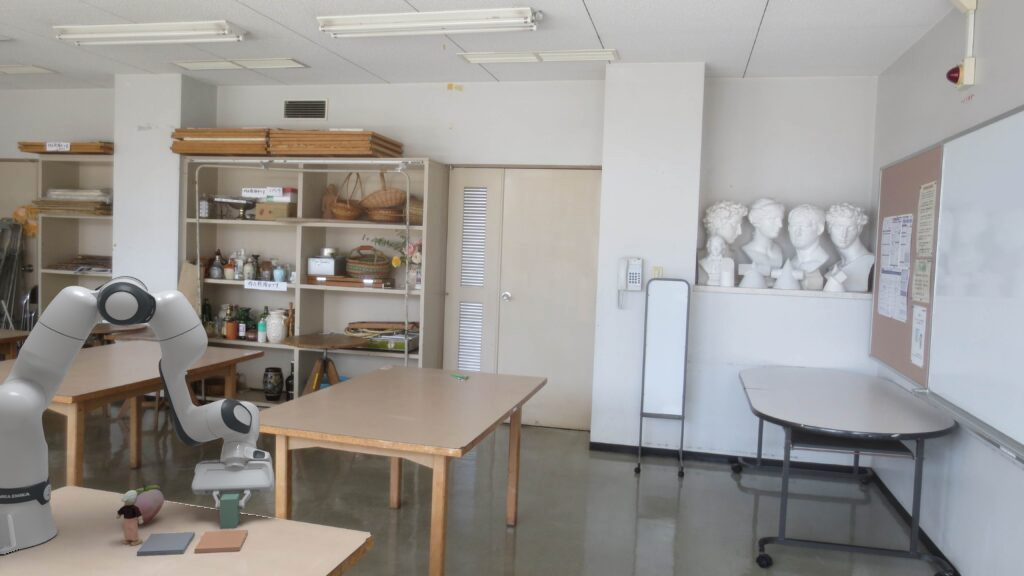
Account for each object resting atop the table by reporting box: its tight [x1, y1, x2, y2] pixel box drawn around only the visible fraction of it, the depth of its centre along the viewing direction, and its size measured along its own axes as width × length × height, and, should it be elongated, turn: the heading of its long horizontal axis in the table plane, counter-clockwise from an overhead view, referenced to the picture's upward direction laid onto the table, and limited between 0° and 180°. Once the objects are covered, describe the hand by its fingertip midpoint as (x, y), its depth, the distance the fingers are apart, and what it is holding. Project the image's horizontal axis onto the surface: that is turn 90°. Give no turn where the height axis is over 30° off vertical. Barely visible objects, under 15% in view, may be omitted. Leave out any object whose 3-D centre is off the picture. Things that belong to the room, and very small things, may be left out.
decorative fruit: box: [123, 484, 165, 524], centre depth 182 cm, size 9×8×10 cm
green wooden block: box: [219, 494, 241, 530], centre depth 182 cm, size 4×4×8 cm
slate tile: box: [136, 531, 196, 557], centre depth 170 cm, size 10×10×1 cm
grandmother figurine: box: [115, 489, 144, 546], centre depth 171 cm, size 8×4×13 cm, turn 84°
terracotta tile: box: [194, 529, 249, 554], centre depth 172 cm, size 10×10×1 cm
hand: (229, 508), depth 182 cm, fingers closed on green wooden block, 4 cm apart
